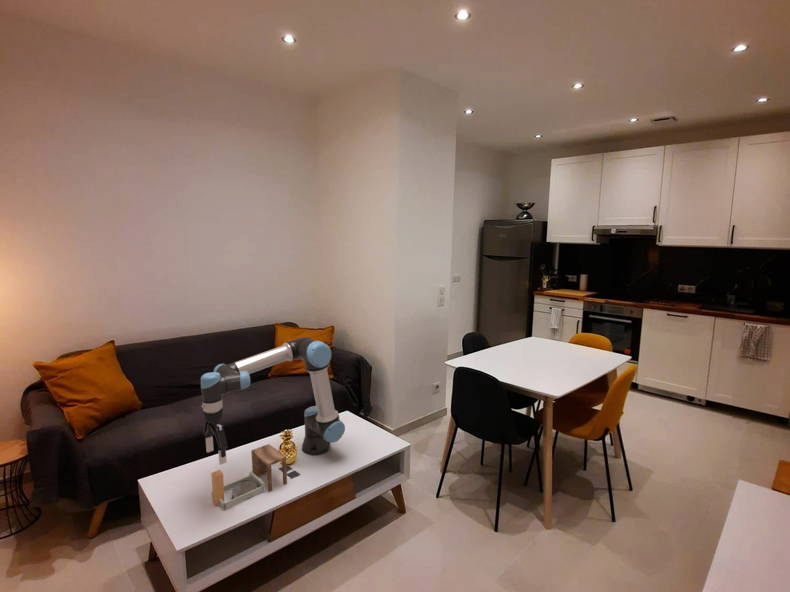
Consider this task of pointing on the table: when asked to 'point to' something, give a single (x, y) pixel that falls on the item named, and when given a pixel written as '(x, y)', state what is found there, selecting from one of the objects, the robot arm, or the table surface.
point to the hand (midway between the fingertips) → (216, 457)
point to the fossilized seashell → (243, 488)
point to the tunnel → (268, 462)
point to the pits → (291, 474)
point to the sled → (219, 488)
